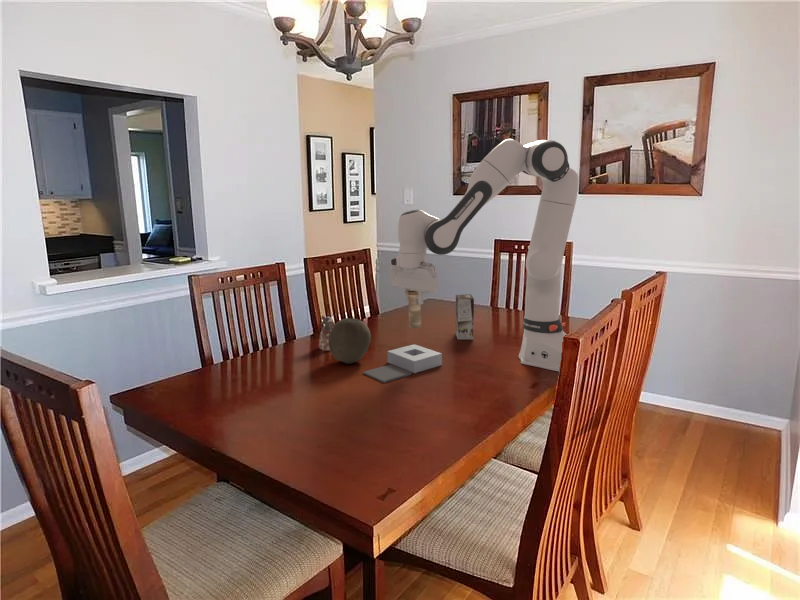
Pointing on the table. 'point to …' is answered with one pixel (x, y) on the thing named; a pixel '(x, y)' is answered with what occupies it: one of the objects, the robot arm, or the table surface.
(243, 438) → the table surface
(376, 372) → the mat
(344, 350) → the cantaloupe
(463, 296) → the coffee box
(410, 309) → the peg
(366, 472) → the table surface
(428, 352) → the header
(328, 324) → the figurine
